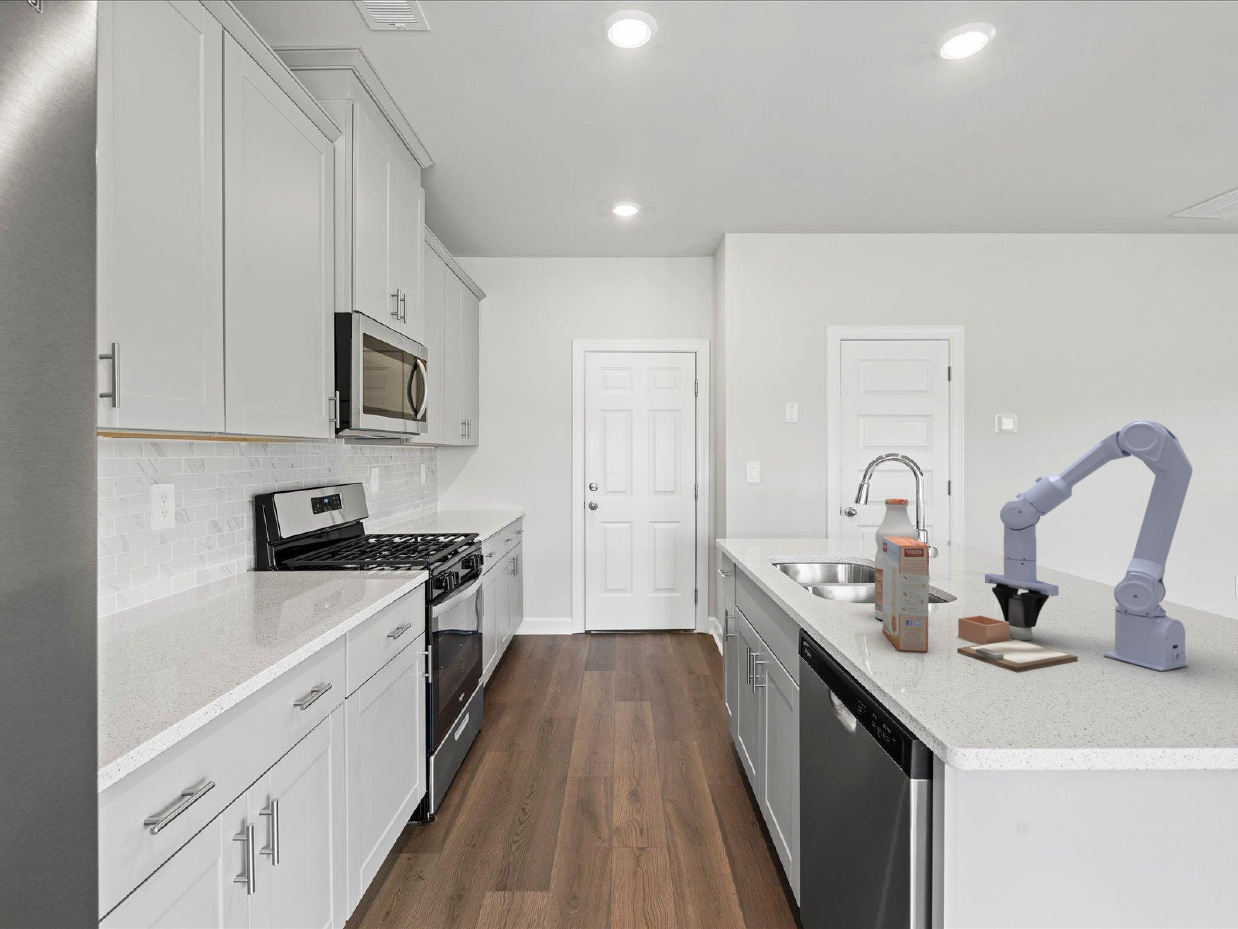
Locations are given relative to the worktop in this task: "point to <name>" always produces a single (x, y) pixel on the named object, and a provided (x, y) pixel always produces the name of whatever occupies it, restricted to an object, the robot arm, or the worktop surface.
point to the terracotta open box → (983, 629)
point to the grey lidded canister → (1018, 619)
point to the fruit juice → (891, 526)
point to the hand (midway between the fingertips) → (1019, 623)
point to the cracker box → (906, 593)
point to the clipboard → (1017, 655)
